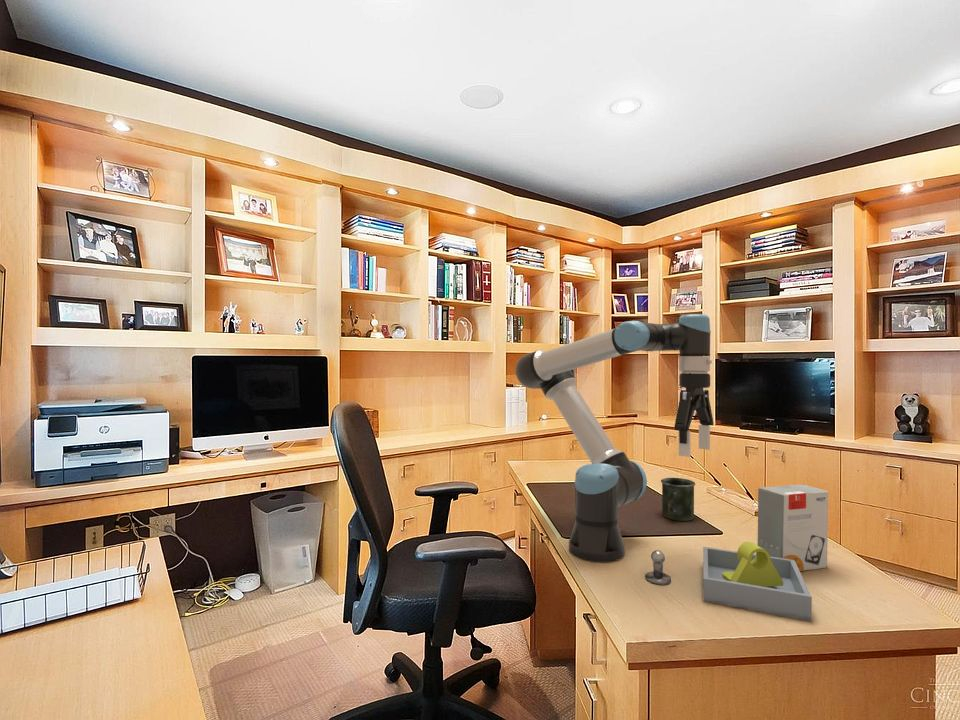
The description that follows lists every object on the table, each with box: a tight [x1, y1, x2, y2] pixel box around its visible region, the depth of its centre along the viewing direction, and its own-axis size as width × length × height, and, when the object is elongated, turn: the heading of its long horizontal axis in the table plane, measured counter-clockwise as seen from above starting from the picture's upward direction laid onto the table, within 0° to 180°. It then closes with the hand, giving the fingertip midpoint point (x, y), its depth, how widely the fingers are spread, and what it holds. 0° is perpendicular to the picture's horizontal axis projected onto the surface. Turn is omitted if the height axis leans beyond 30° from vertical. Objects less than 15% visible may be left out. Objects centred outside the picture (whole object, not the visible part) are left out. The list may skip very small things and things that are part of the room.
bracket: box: [722, 541, 783, 588], centre depth 112 cm, size 11×6×10 cm, turn 95°
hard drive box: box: [756, 483, 829, 572], centre depth 125 cm, size 16×8×20 cm, turn 106°
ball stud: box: [644, 549, 672, 586], centre depth 117 cm, size 6×6×7 cm
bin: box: [702, 546, 813, 622], centre depth 112 cm, size 20×20×5 cm
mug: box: [660, 477, 696, 522], centre depth 163 cm, size 11×15×12 cm
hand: (694, 452), depth 128 cm, fingers open, 13 cm apart
